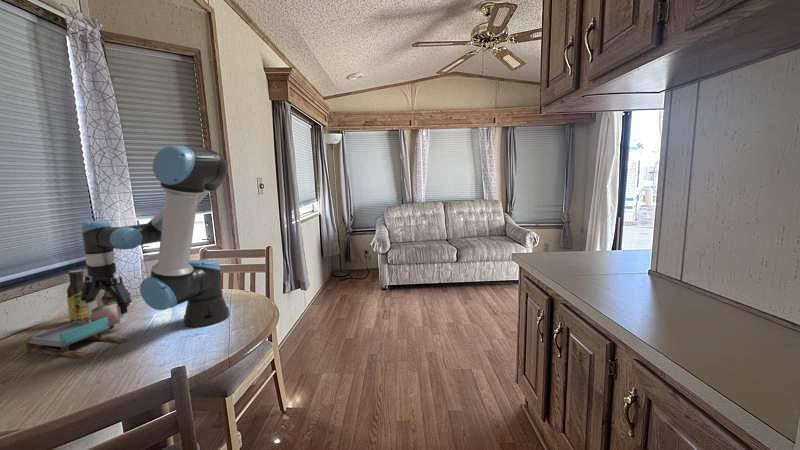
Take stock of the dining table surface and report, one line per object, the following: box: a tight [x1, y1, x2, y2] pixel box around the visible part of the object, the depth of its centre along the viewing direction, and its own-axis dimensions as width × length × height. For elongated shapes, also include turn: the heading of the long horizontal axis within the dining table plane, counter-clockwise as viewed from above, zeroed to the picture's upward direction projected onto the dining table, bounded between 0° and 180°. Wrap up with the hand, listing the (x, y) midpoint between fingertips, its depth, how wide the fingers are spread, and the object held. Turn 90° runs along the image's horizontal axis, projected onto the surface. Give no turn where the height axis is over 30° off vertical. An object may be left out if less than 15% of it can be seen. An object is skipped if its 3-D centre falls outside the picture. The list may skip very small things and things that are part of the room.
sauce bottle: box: [66, 269, 90, 323], centre depth 126 cm, size 6×6×20 cm
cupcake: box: [100, 289, 132, 308], centre depth 140 cm, size 10×10×10 cm
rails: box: [25, 334, 127, 359], centre depth 107 cm, size 24×12×3 cm, turn 78°
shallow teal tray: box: [28, 317, 110, 351], centre depth 107 cm, size 14×13×6 cm
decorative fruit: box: [89, 302, 118, 329], centre depth 120 cm, size 9×8×10 cm
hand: (108, 320), depth 120 cm, fingers open, 13 cm apart
